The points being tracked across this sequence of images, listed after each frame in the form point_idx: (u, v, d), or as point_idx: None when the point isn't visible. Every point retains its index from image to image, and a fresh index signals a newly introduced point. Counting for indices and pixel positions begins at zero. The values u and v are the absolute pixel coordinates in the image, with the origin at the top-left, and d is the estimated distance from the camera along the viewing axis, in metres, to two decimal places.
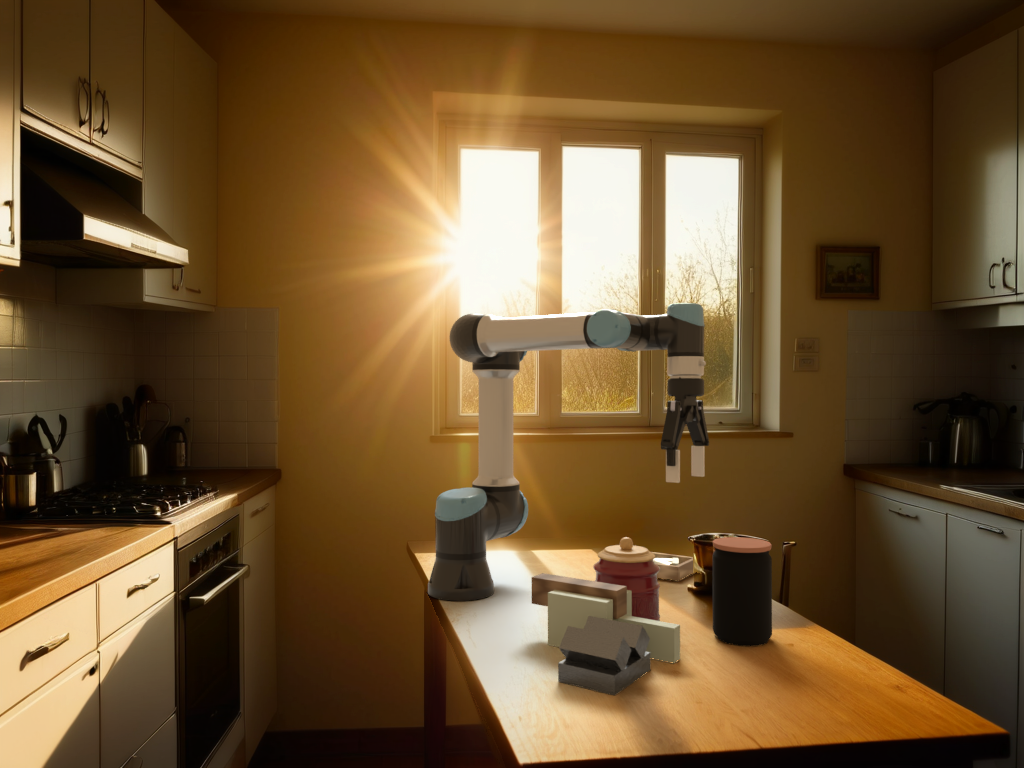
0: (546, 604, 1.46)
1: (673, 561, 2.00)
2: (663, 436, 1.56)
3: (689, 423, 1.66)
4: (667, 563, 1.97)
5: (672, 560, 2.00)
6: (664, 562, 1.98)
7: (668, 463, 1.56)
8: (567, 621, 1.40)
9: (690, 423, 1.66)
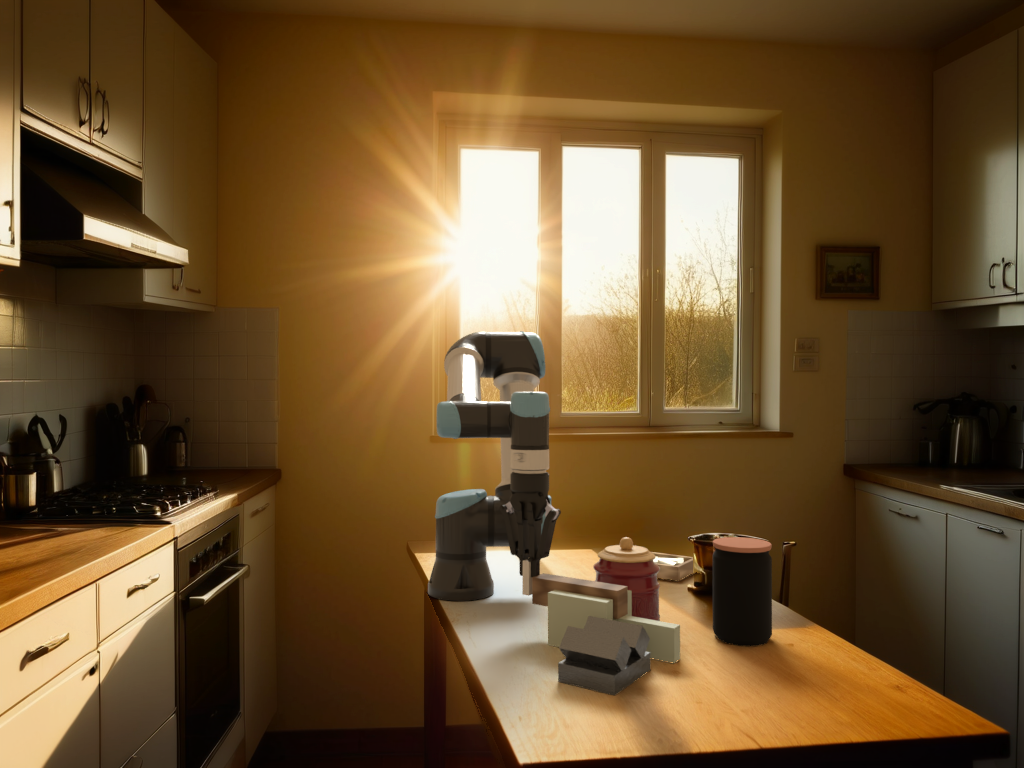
0: (547, 604, 1.46)
1: (678, 561, 2.00)
2: None
3: None
4: (672, 563, 1.98)
5: (677, 560, 2.00)
6: (669, 562, 1.99)
7: None
8: (567, 621, 1.40)
9: None
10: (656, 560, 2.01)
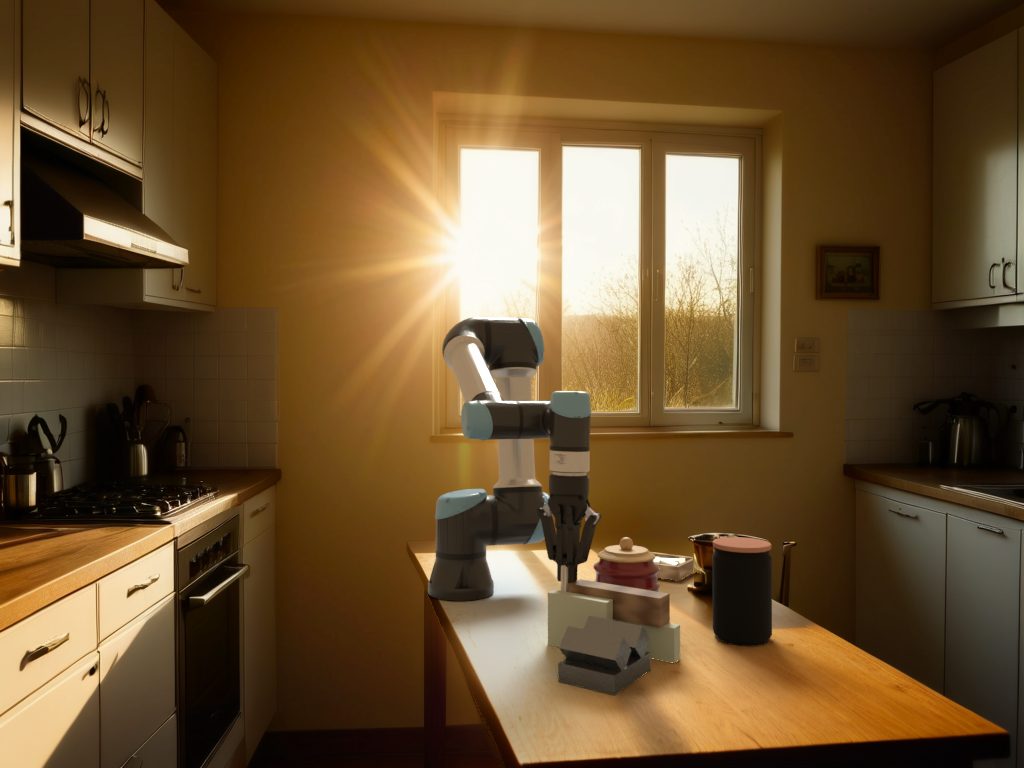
0: None
1: (680, 561, 2.00)
2: None
3: None
4: (674, 563, 1.97)
5: (679, 560, 2.00)
6: (671, 562, 1.98)
7: None
8: (567, 621, 1.40)
9: None
10: (658, 560, 2.01)
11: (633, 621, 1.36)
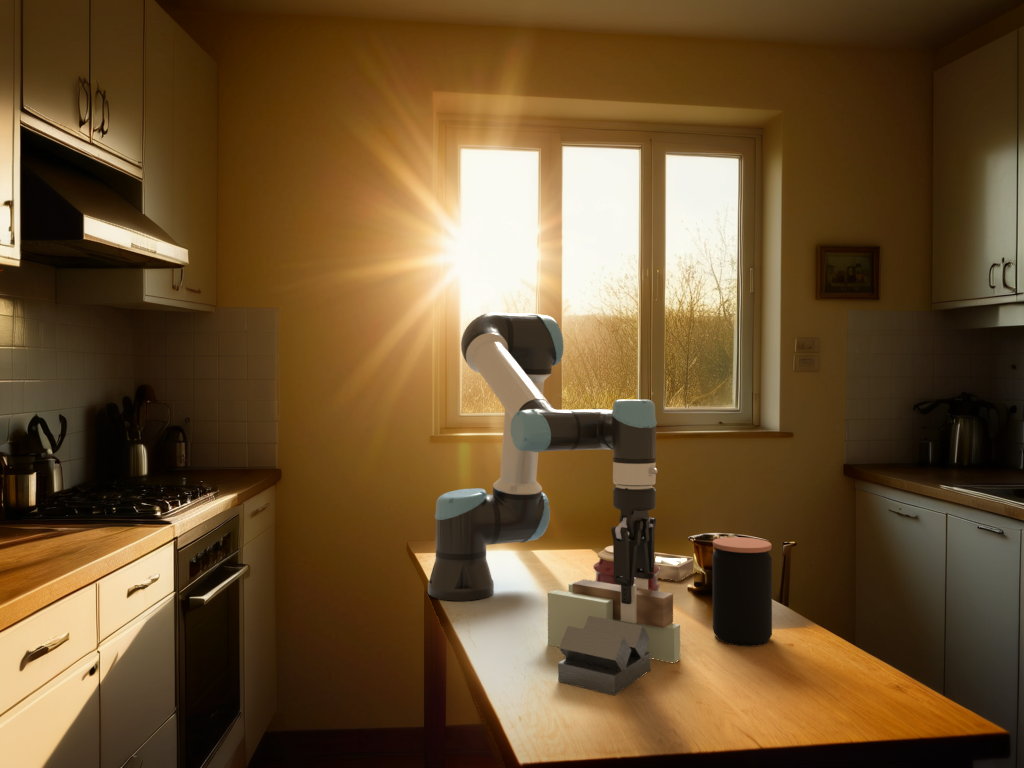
0: None
1: (681, 561, 1.99)
2: (615, 571, 1.34)
3: None
4: (675, 563, 1.97)
5: (680, 560, 2.00)
6: (672, 562, 1.98)
7: (623, 600, 1.35)
8: (567, 621, 1.40)
9: None
10: (659, 560, 2.01)
11: None
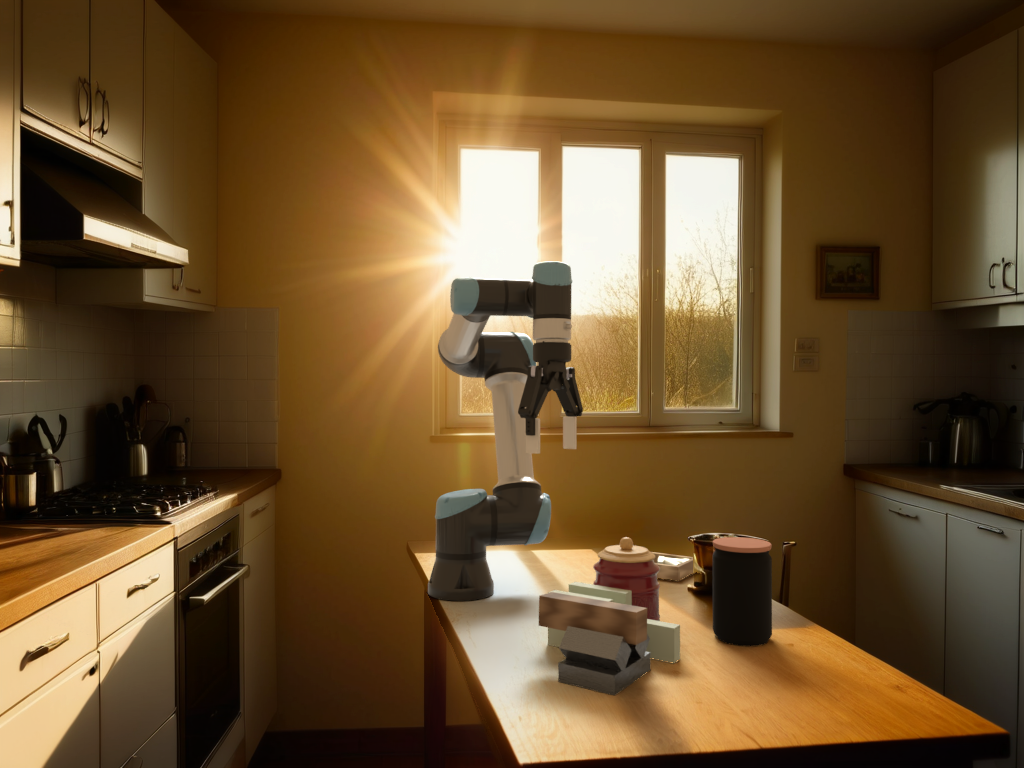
0: (555, 627, 1.30)
1: None
2: (521, 403, 1.45)
3: (558, 391, 1.55)
4: (675, 563, 1.97)
5: (682, 561, 2.00)
6: (673, 562, 1.98)
7: (527, 432, 1.45)
8: None
9: (559, 391, 1.55)
10: (662, 560, 2.01)
11: None
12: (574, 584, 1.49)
